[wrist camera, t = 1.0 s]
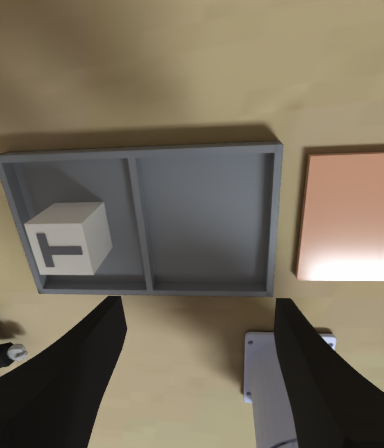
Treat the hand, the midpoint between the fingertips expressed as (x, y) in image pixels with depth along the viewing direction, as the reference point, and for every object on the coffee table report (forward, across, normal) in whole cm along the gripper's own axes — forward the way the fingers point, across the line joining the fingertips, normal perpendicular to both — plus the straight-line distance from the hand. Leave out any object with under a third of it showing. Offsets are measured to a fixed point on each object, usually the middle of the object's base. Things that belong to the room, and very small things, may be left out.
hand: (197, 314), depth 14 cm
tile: (+10, -12, 0) cm, 16 cm away
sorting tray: (+10, +5, 0) cm, 11 cm away
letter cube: (+10, +10, 0) cm, 14 cm away
